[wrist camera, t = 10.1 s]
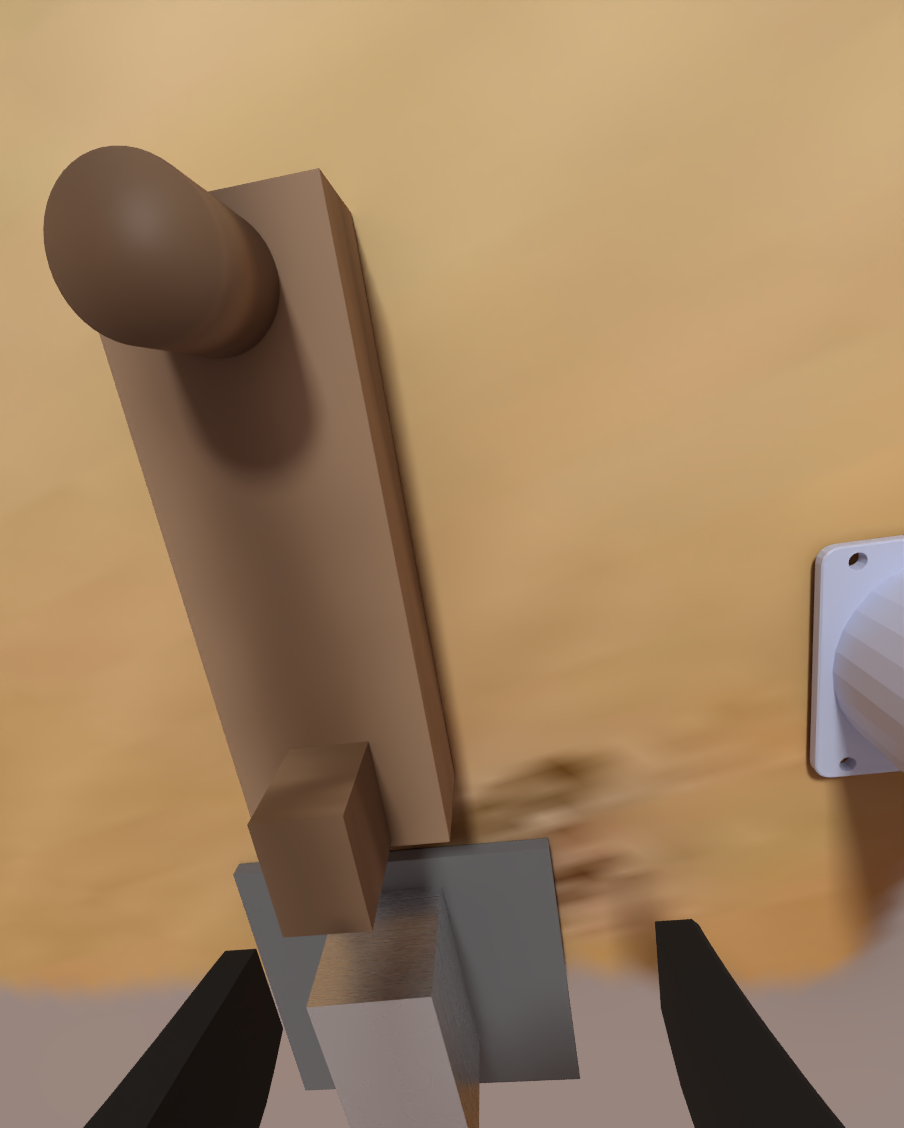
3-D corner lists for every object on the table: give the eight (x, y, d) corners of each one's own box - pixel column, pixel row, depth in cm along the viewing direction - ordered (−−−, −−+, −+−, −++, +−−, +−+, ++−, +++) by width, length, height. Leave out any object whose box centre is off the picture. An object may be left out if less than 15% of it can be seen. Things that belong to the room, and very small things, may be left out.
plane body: (350, 212, 15) (266, 95, 9) (455, 777, 20) (442, 932, 14) (143, 255, 15) (-61, 169, 10) (294, 792, 20) (220, 947, 15)
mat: (547, 837, 20) (549, 848, 20) (578, 1064, 24) (579, 1078, 23) (238, 864, 21) (233, 875, 21) (309, 1076, 25) (305, 1090, 24)
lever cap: (441, 885, 21) (431, 997, 17) (479, 1037, 23) (478, 1166, 19) (338, 896, 21) (306, 1007, 17) (386, 1044, 23) (366, 1172, 19)
